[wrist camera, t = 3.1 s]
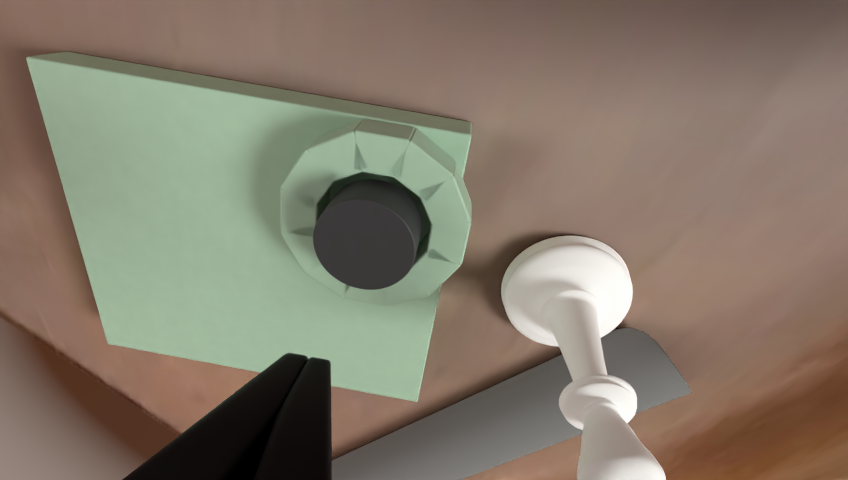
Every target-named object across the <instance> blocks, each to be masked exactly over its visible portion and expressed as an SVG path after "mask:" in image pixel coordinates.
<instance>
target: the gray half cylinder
mask: <svg viewBox="0 0 848 480" xmlns="http://www.w3.org/2000/svg"><path fill="white" fill-rule="evenodd" d="M601 344H602V350H603V356H604V361H605V366H606V370H607V375H611V376H615V377H618V378H620V379H622V380H624V381H626V382H627V383H629V384H630V385H631V386H632V388H633V389H634V391H635V393H636V396H637V410H636V413H639V412H642V411H644V410H647V409H649V408H652V407H655V406H657V405H660V404H663V403H665V402H668V401H671V400H673V399H676V398H679V397H681V396H684V395H687V394H689V393H692V392H691V390H690V389H689V388H690V387H689V385H688V384H687V382H686V381H685V380H684V378H683V377H682V375H681V374H680V373H679V371H678V370H677V368H676V367H675V366H674V364H673V363H672V361H671V360H670V359H669V357H668V356H667V355H666V353H665V352H664V351H663V350H662V348H661V347H660V346H659V345H658V343H657V342H655V341H654V340H653V339H652V338H651V337H650V336H649V335H647V334H646V333H645V332H643V331H640V330H638V329H635V328H623V329H617V330H614V331H612V332H610V333H608V334H607V335H605V336H603V337H602V338H601ZM571 382H573V380H572V377H571V375H570V372H569V369H568V367H567V364H566V362H565V360H564V357H563V355H560V356H558V357H555V358H553V359H551V360H549V361H547V362H545V363H542V364H540V365H538V366H536V367H534V368H532V369H529V370H527V371H525V372H523V373H521V374H518V375H516V376H514V377H512V378H510V379H508V380H505V381H503V382H501V383H499V384H497V385H495V386H492V387H490V388H488V389H486V390H484V391H482V392H479V393H477V394H475V395H473V396H471V397H469V398H466V399H464V400H462V401H460V402H458V403H456V404H453V405H451V406H449V407H447V408H445V409H442V410H440V411H438V412H436V413H434V414H432V415H429V416H427V417H425V418H423V419H421V420H419V421H416V422H414V423H412V424H410V425H408V426H406V427H403V428H401V429H399V430H397V431H395V432H393V433H390V434H388V435H386V436H384V437H382V438H380V439H377V440H375V441H373V442H371V443H369V444H366V445H364V446H362V447H360V448H358V449H356V450H353V451H351V452H349V453H347V454H345V455H343V456H340V457H338V458H336V459H334V460H332V480H461V479H464V478H466V477H469V476H472V475H474V474H477V473H480V472H482V471H485V470H488V469H490V468H493V467H496V466H498V465H501V464H503V463H506V462H509V461H511V460H514V459H517V458H519V457H522V456H525V455H527V454H530V453H533V452H535V451H538V450H541V449H543V448H546V447H549V446H551V445H554V444H557V443H559V442H562V441H565V440H567V439H570V438H572V437H575V436H578V435H580V434H582V432H583V430H581V429H578V428H576V427H574V426H573V425H571V424H570V423H569V422H568V421H567V420H566V419H565V417H564V415H563V414H562V412H561V410H560V407H559V397H560V395H561V393H562V391H563V390H564V388H565V387H566V386H567V385H569V384H570V383H571ZM636 413H635V414H636Z"/></svg>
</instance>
